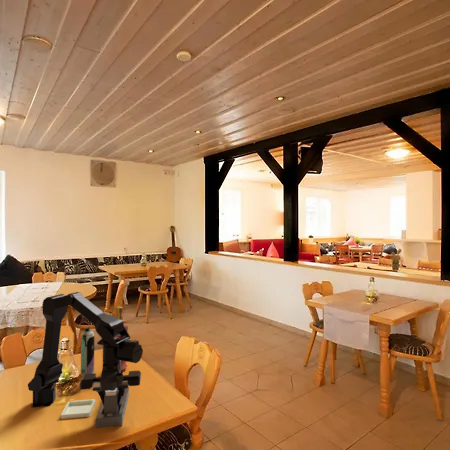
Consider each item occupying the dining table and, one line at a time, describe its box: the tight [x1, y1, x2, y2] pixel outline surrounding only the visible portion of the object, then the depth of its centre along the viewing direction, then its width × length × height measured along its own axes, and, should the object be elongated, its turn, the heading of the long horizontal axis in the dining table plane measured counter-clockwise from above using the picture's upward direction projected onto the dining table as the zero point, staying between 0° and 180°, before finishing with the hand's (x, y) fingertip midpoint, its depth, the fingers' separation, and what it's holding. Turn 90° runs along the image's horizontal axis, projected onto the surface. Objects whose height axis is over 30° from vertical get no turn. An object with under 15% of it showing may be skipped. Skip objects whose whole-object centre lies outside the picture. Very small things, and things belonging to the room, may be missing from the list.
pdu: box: [95, 385, 130, 429], centre depth 119 cm, size 8×20×8 cm, turn 10°
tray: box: [60, 398, 96, 420], centre depth 119 cm, size 9×9×2 cm
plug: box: [104, 388, 119, 414], centre depth 114 cm, size 4×4×8 cm
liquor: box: [114, 306, 128, 372], centre depth 154 cm, size 7×7×28 cm
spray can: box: [80, 326, 95, 377], centre depth 149 cm, size 6×6×20 cm
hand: (111, 405), depth 114 cm, fingers closed on plug, 4 cm apart
